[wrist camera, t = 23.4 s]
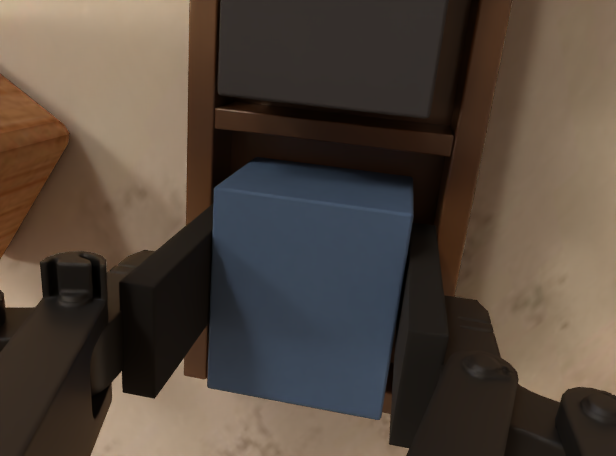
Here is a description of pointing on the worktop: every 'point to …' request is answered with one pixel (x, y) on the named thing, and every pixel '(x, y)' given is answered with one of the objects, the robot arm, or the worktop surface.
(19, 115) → the decorative item
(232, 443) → the worktop surface
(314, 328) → the slate blue block
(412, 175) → the holder
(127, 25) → the worktop surface
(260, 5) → the dark grey block
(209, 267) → the robot arm
